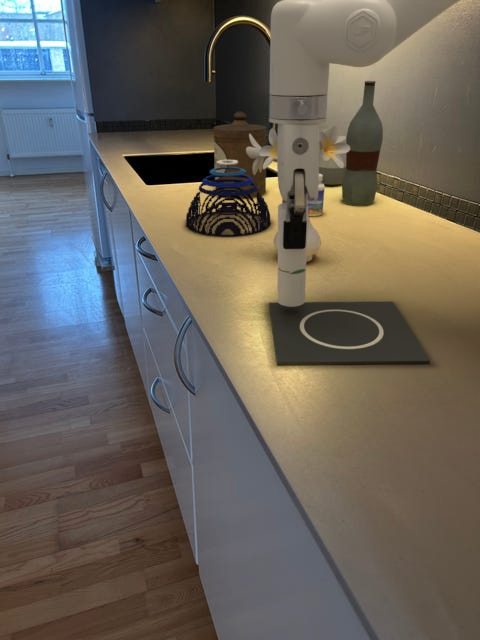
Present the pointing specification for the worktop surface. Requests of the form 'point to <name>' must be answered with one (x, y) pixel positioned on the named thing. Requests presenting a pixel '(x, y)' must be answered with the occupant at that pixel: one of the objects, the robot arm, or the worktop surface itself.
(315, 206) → the pill bottle
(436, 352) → the worktop surface
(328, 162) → the smart speaker
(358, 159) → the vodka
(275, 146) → the flower vase
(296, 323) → the slate board
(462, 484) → the worktop surface
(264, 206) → the decorative bowl
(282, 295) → the tube
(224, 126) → the wooden container
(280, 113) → the robot arm
